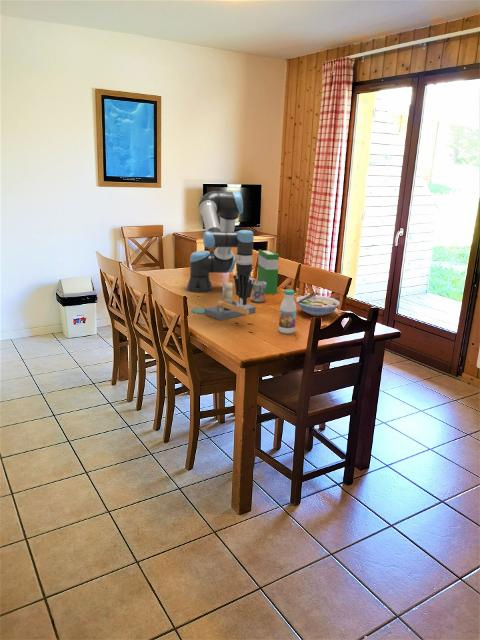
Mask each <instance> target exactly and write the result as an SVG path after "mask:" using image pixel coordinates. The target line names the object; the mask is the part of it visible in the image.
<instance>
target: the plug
mask: <svg viewBox="0 0 480 640" xmlns="http://www.w3.org/2000/svg"><path fill="white" fill-rule="evenodd" d="M233 284H234V283H233V282H231V281H224V282H222V299H221V301H225V303H228V304H232V305H235V306H236V302H237V301H235V300H233V290H234V289H233V286H234V285H233ZM224 309H225V310H228V309H227V308H224Z"/></svg>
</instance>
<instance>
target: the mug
mask: <svg viewBox="0 0 480 640" xmlns="http://www.w3.org/2000/svg"><path fill="white" fill-rule="evenodd" d="M266 285H267V283H266V282H263V281H257V280H255V282H254V283H253V287H252V293H251V296H250V300H251V301H252V302H254V303H263V302H266V295H265V294H264V292H265V288H266Z"/></svg>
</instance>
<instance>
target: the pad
mask: <svg viewBox="0 0 480 640" xmlns="http://www.w3.org/2000/svg"><path fill="white" fill-rule="evenodd" d="M205 308H206V307H205ZM205 308H204V307H196V308H192V309H191V311H190V312H191V313H192V312H193V314H195V313H197V315H205V314H204V309H205Z"/></svg>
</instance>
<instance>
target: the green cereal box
mask: <svg viewBox="0 0 480 640" xmlns="http://www.w3.org/2000/svg"><path fill="white" fill-rule="evenodd" d="M257 259H258V260H257V277H256V281H263V282H266V283H267V285H266V288H265V292H264V295H276V293H278V292H277V291H278V277H279V265H280V264H279V261H280V254H279V253H277V252H275V251H274V250H272V249H270V248H269V249H268V250H262V249H258V258H257Z"/></svg>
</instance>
